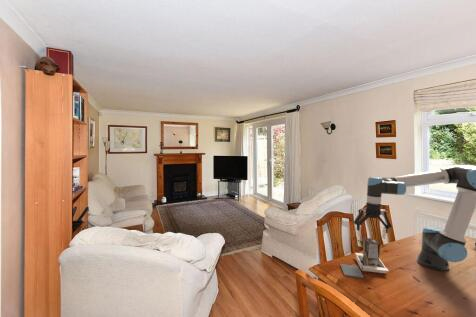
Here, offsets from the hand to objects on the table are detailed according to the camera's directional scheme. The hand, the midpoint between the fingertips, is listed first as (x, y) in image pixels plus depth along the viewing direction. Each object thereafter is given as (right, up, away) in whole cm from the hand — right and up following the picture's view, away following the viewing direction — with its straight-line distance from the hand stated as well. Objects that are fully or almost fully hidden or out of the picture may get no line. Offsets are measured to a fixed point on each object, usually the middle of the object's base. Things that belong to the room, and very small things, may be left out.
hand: (371, 236), depth 142 cm
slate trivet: (-15, -19, -5) cm, 24 cm away
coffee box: (0, -19, +1) cm, 19 cm away
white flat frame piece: (0, -19, +1) cm, 19 cm away
